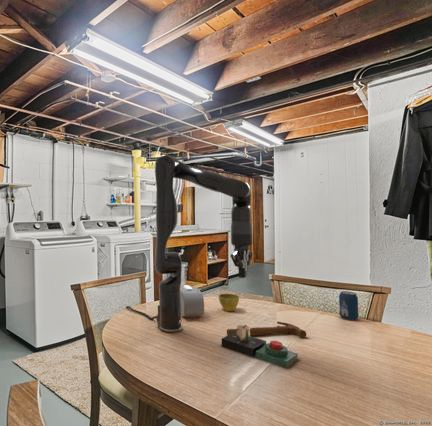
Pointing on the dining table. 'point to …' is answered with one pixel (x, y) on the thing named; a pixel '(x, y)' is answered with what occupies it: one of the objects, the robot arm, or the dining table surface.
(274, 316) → the dining table surface
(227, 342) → the panel
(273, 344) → the button
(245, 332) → the dial
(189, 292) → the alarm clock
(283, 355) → the switchbox
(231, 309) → the flower pot
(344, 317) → the soda can
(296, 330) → the hammer
